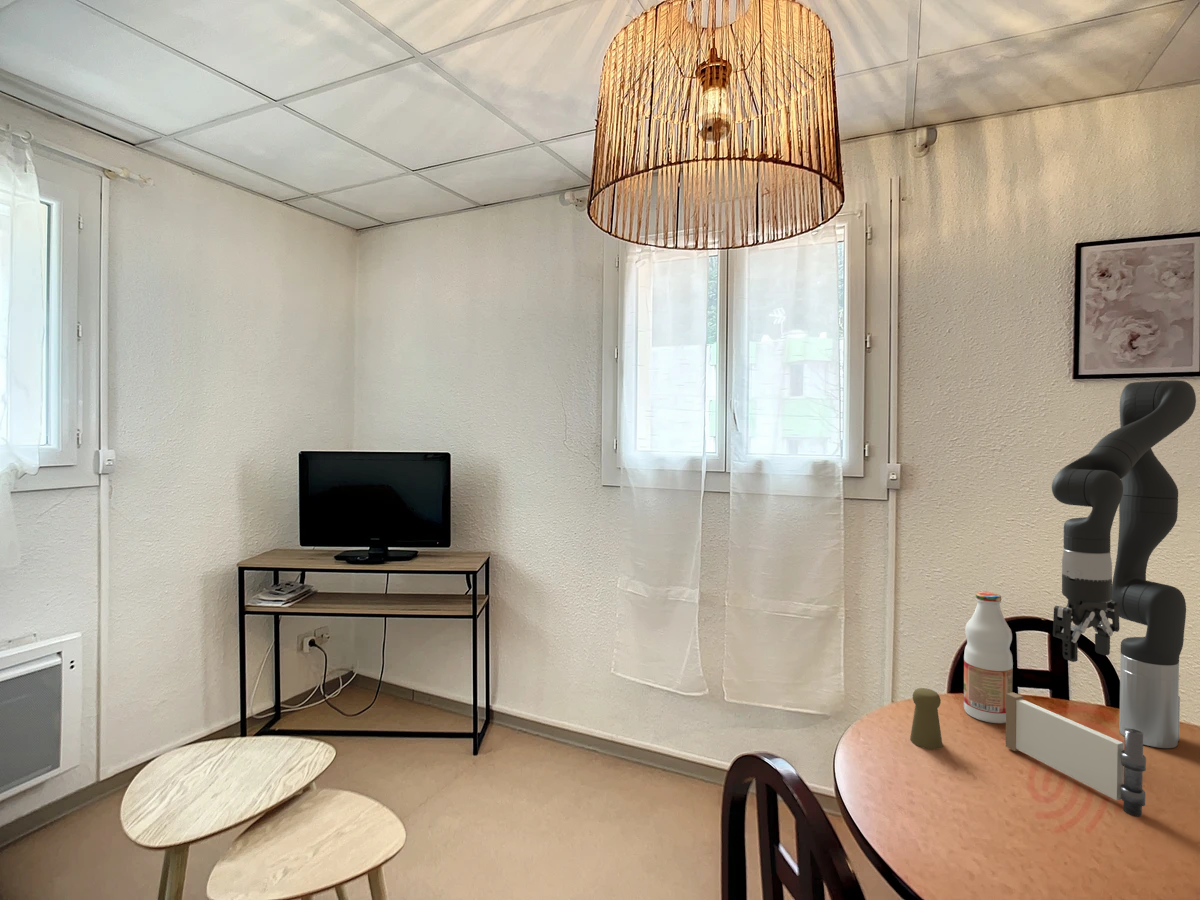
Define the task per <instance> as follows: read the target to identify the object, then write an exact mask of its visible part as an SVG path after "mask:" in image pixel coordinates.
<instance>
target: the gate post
mask: <svg viewBox="0 0 1200 900" xmlns="http://www.w3.org/2000/svg"><path fill="white" fill-rule="evenodd" d="M1123 743H1124V747H1123V751H1121V764H1122V765H1123V784H1122V785H1121V801H1123V805H1122V807H1123V810H1122V811H1124V812H1125V814H1127V815H1129V816H1131V817H1132V816H1133V817H1138V818H1140V817H1142V816H1143V807H1144V806H1146V791H1145V790H1144V789H1143V772H1146V771H1147V768H1146V767H1147V757H1146V756H1145V754H1144V744H1143V733H1142V732H1140V731H1138V730H1135V729H1125V736H1124V742H1123Z"/></svg>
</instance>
